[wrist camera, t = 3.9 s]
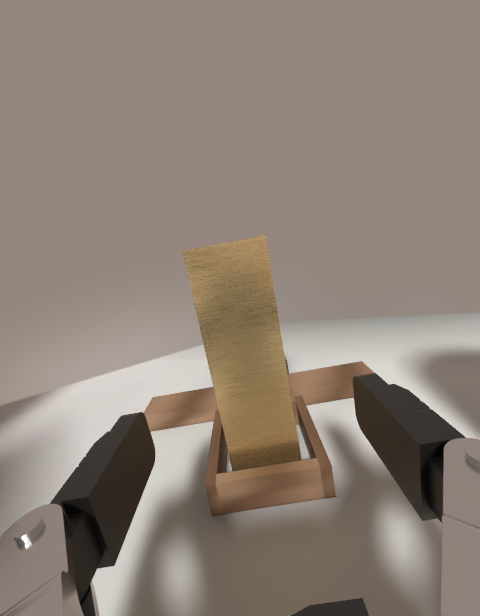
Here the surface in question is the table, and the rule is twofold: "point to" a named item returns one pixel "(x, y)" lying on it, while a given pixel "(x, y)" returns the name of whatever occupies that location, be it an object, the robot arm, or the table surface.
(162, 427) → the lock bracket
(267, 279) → the tan wooden block
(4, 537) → the robot arm
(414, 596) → the table surface
